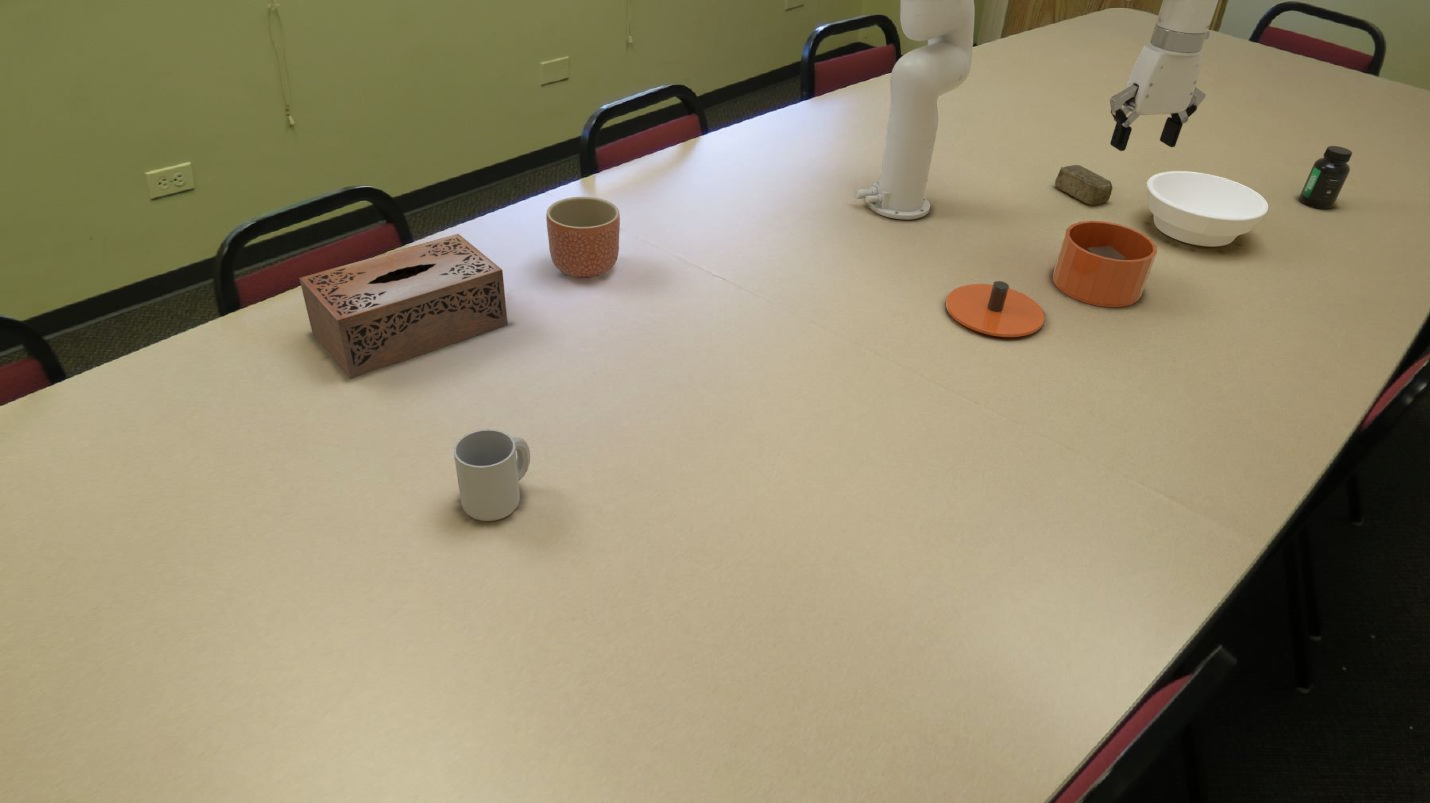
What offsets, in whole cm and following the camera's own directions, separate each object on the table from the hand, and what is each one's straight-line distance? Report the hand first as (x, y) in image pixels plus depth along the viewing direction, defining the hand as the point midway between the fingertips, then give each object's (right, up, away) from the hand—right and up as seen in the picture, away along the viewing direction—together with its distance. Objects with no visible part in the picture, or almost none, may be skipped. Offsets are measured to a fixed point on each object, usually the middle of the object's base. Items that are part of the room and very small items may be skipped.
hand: (1142, 146), depth 157 cm
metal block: (-1, -21, +15) cm, 26 cm away
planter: (-93, -19, +11) cm, 96 cm away
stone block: (+8, +2, +48) cm, 48 cm away
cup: (-98, -54, -37) cm, 118 cm away
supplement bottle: (+60, +1, +51) cm, 79 cm away
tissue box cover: (-118, -31, -7) cm, 122 cm away
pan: (-1, -21, +16) cm, 26 cm away
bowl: (+26, -8, +36) cm, 45 cm away
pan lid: (-23, -27, +5) cm, 36 cm away
